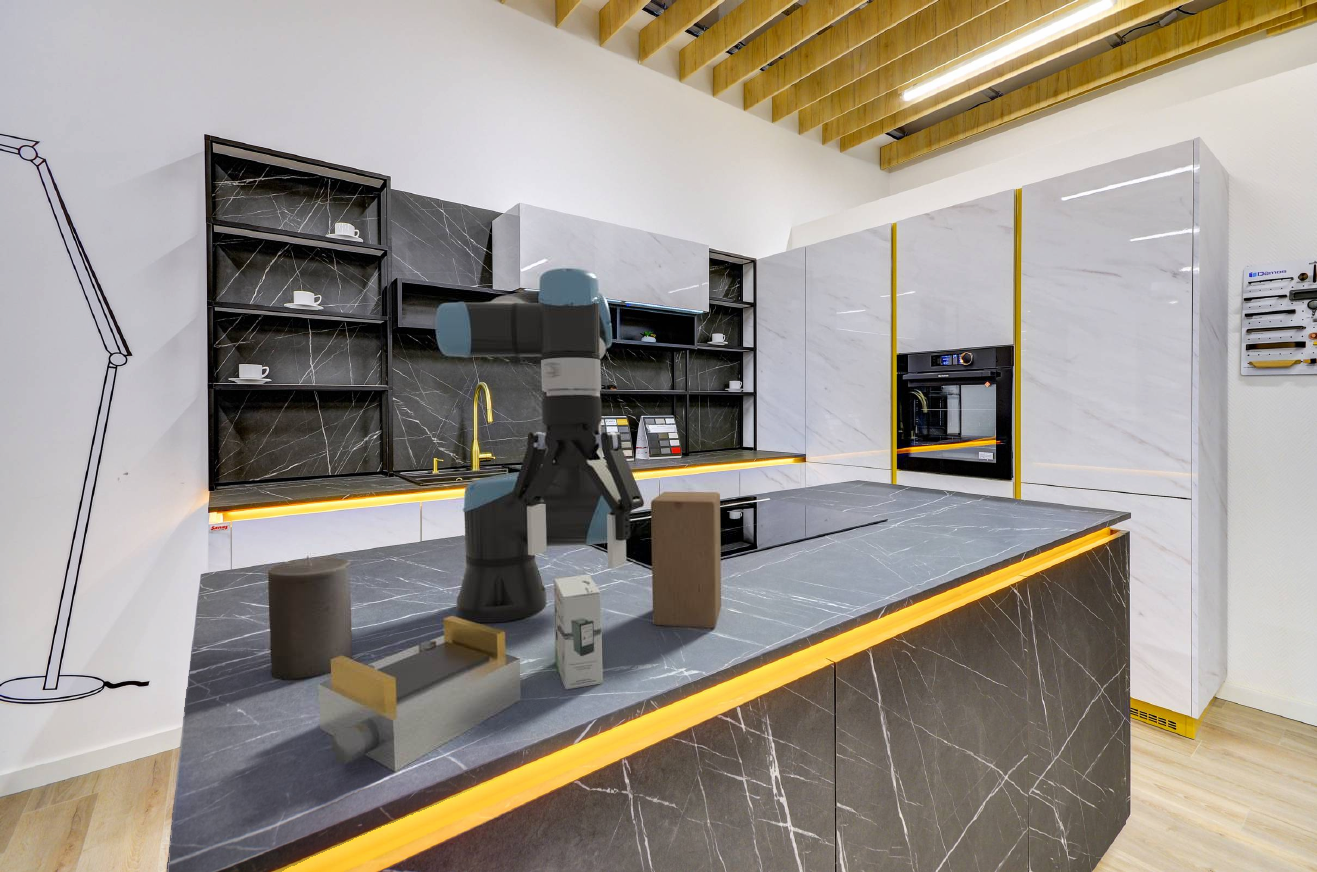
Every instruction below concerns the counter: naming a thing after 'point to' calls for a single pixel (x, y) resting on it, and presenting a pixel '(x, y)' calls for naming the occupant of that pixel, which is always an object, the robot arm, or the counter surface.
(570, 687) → the ink box
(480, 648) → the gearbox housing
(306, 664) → the pillar candle
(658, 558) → the wooden block
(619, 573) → the counter surface
